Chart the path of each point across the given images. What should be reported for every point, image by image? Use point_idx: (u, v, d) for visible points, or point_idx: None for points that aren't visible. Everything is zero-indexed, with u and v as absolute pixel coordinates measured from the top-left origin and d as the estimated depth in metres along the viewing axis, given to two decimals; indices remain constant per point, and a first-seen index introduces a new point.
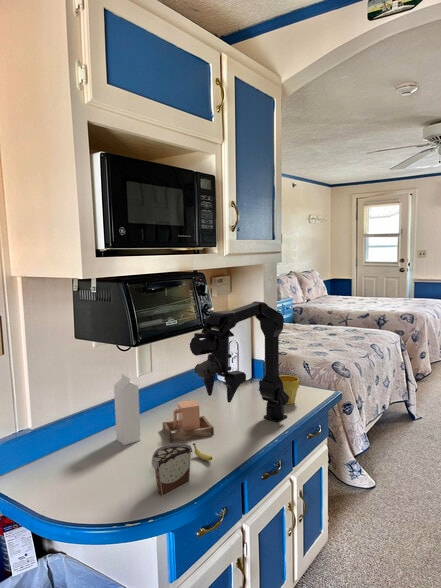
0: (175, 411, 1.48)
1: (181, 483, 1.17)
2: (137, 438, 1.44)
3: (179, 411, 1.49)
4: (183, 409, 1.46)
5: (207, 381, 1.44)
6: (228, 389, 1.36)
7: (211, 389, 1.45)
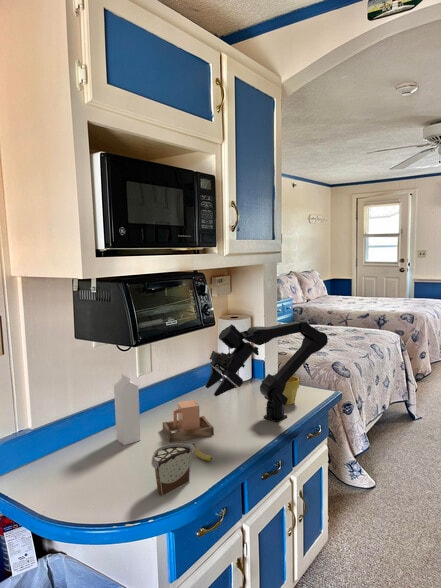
0: (175, 411, 1.48)
1: (181, 483, 1.17)
2: (137, 438, 1.44)
3: (179, 411, 1.49)
4: (183, 409, 1.46)
5: (213, 375, 1.57)
6: (221, 383, 1.47)
7: (211, 384, 1.57)
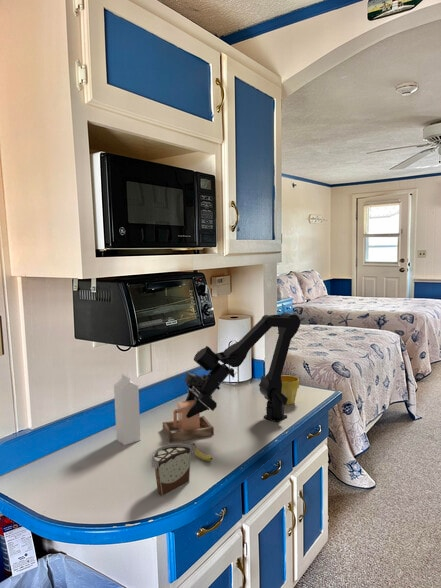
0: (175, 411, 1.48)
1: (181, 483, 1.17)
2: (137, 438, 1.44)
3: (179, 411, 1.49)
4: (183, 409, 1.46)
5: (189, 398, 1.54)
6: (193, 404, 1.46)
7: None
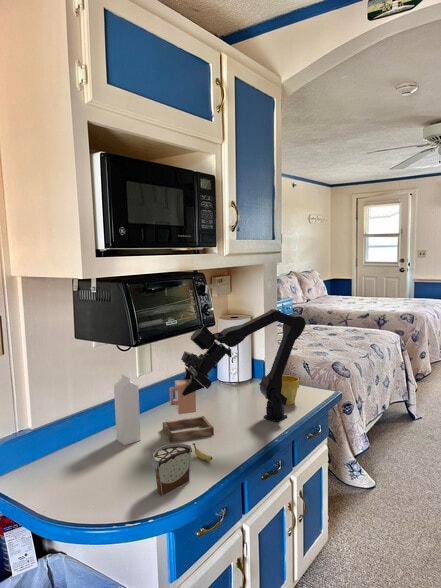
0: (171, 389, 1.50)
1: (181, 483, 1.17)
2: (137, 438, 1.44)
3: (175, 389, 1.50)
4: (179, 387, 1.48)
5: (186, 377, 1.55)
6: (189, 383, 1.48)
7: None
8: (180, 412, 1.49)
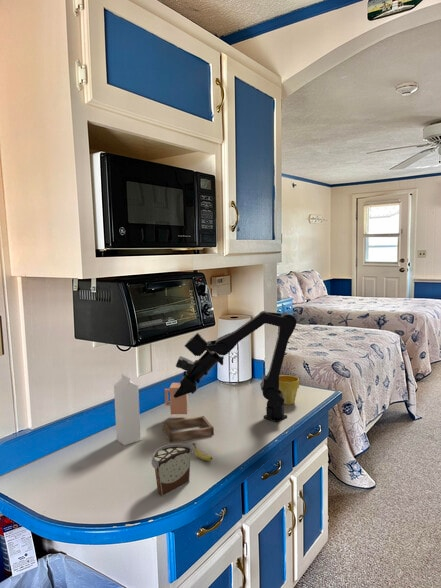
0: (166, 390, 1.62)
1: (181, 483, 1.17)
2: (137, 438, 1.44)
3: (169, 391, 1.62)
4: (171, 389, 1.59)
5: None
6: (180, 386, 1.58)
7: None
8: (172, 412, 1.60)
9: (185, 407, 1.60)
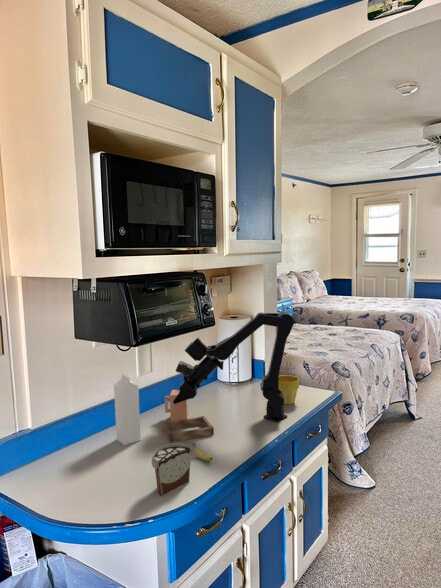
0: (166, 397, 1.62)
1: (181, 483, 1.17)
2: (137, 438, 1.44)
3: (170, 398, 1.62)
4: (171, 396, 1.59)
5: None
6: (179, 392, 1.57)
7: None
8: (172, 420, 1.60)
9: (185, 414, 1.60)
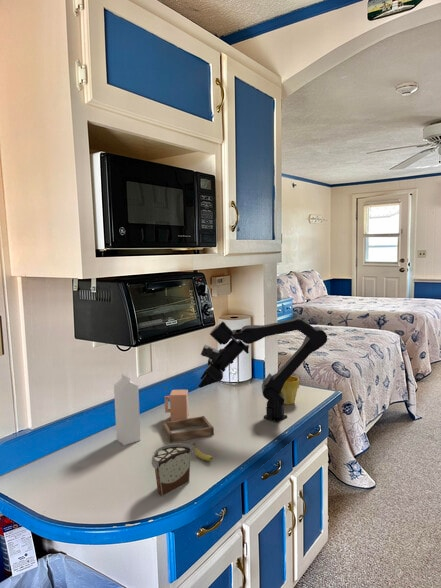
0: (166, 397, 1.62)
1: (181, 483, 1.17)
2: (137, 438, 1.44)
3: (170, 398, 1.62)
4: (171, 396, 1.59)
5: None
6: (205, 376, 1.56)
7: None
8: (172, 420, 1.60)
9: (185, 414, 1.60)
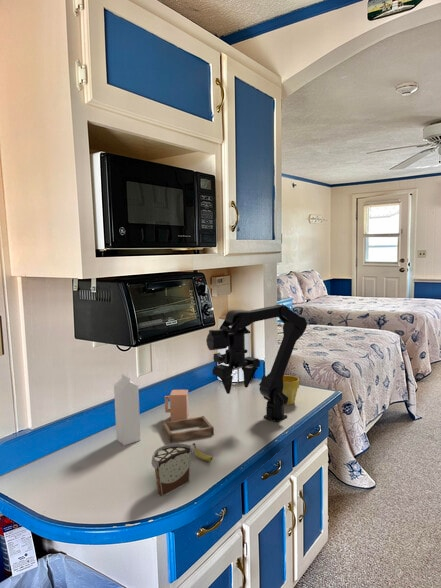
0: (166, 397, 1.62)
1: (181, 483, 1.17)
2: (137, 438, 1.44)
3: (170, 398, 1.62)
4: (171, 396, 1.59)
5: (244, 373, 1.57)
6: None
7: (246, 382, 1.56)
8: (172, 420, 1.60)
9: (185, 414, 1.60)
